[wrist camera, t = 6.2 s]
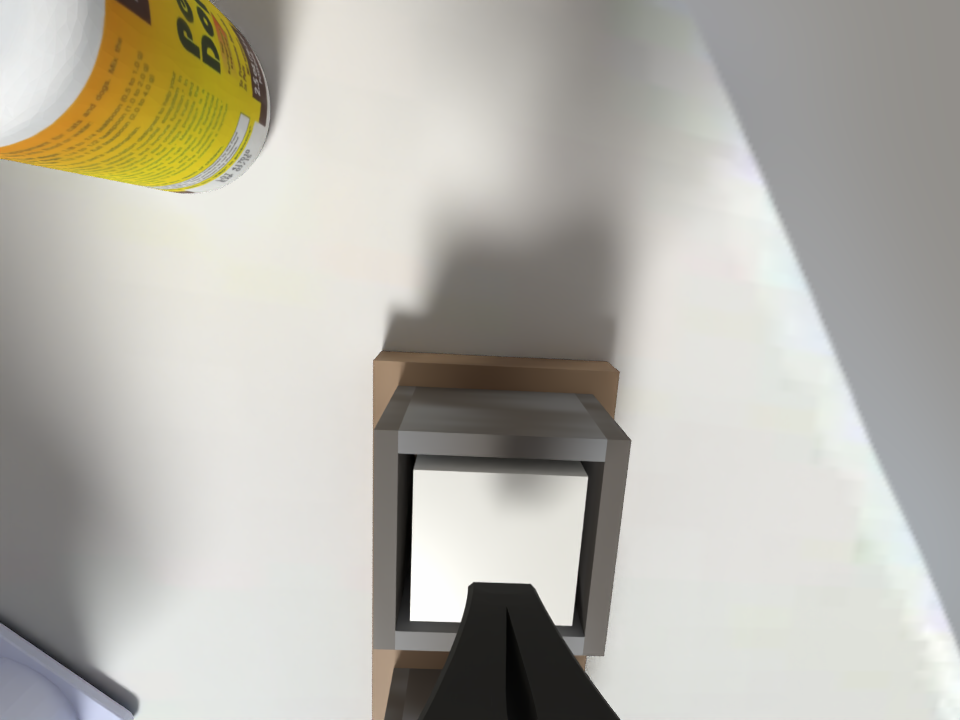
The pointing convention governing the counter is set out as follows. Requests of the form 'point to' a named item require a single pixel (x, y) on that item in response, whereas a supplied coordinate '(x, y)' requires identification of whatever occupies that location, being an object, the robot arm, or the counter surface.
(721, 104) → the counter surface
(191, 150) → the supplement bottle
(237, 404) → the counter surface
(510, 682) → the robot arm
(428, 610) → the white key
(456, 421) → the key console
